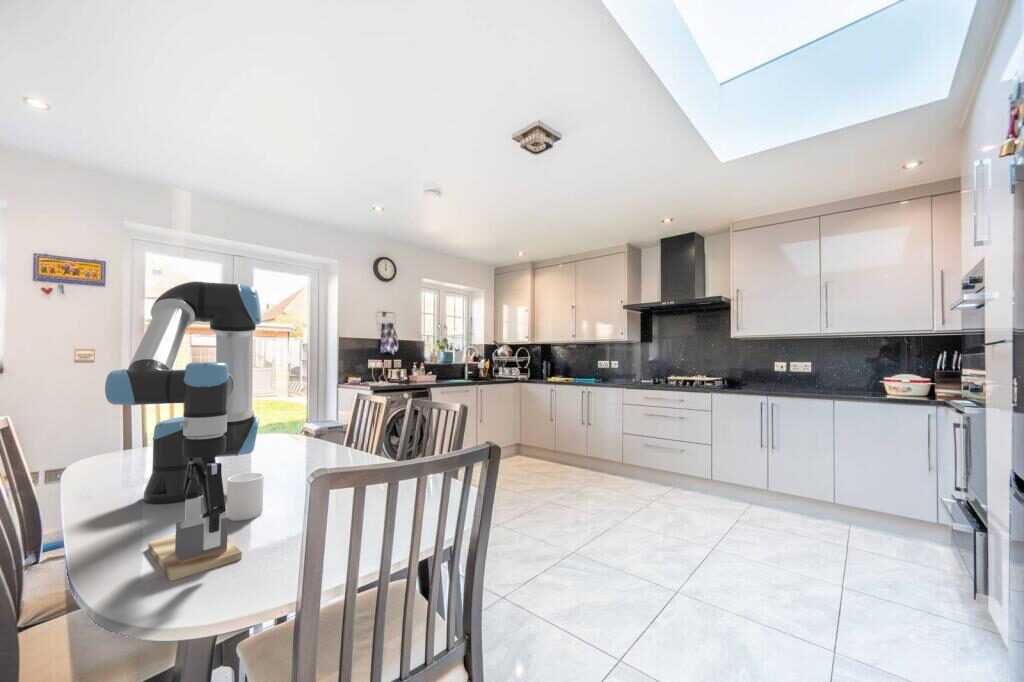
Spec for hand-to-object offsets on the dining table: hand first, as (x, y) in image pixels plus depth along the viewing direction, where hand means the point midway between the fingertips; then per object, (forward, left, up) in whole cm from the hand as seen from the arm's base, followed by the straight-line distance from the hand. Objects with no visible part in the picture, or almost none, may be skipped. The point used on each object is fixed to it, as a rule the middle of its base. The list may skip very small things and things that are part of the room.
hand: (201, 537), depth 90 cm
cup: (-23, +15, -5) cm, 28 cm away
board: (-5, 0, -5) cm, 7 cm away
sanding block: (0, 0, -3) cm, 3 cm away
